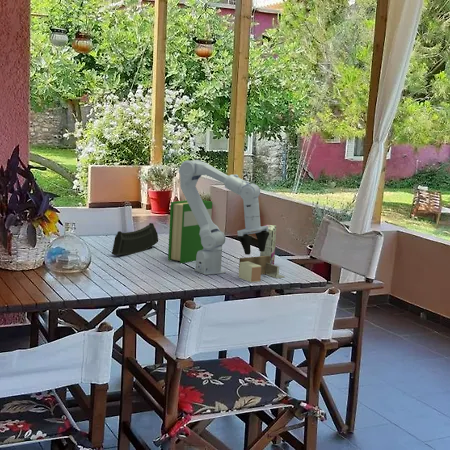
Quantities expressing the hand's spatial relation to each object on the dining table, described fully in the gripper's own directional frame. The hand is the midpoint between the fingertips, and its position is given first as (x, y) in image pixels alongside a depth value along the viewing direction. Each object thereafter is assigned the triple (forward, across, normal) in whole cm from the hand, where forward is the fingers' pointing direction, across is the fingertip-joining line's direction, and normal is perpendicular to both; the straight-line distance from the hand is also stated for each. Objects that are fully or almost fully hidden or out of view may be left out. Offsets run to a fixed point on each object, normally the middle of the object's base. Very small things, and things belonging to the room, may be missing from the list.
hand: (254, 252), depth 255 cm
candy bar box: (+10, +19, +13) cm, 25 cm away
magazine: (+1, -11, +61) cm, 62 cm away
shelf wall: (+10, +4, +6) cm, 12 cm away
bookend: (+11, +10, +1) cm, 15 cm away
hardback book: (+5, 0, +39) cm, 39 cm away
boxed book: (+10, -3, +2) cm, 10 cm away
